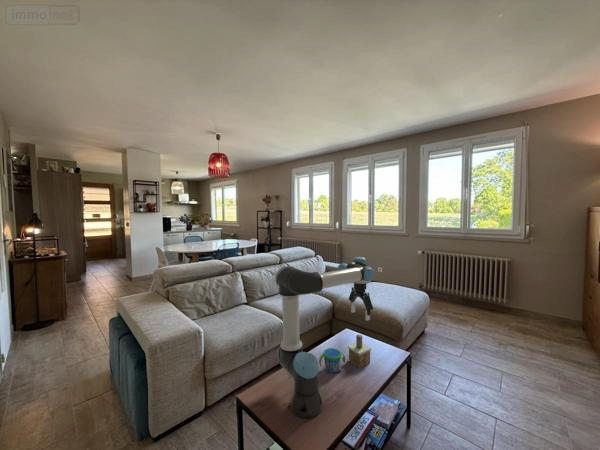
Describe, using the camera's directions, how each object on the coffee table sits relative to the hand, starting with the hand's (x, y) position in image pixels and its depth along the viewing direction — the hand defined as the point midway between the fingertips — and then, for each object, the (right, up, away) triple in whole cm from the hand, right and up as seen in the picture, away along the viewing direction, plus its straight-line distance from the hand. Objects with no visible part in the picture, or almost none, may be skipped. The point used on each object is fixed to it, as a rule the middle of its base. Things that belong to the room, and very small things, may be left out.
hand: (360, 315), depth 156 cm
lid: (-1, -20, -1) cm, 20 cm away
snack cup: (-18, -29, -8) cm, 35 cm away
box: (-1, -28, -1) cm, 28 cm away
